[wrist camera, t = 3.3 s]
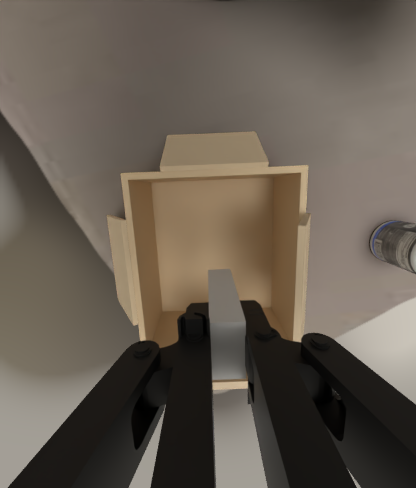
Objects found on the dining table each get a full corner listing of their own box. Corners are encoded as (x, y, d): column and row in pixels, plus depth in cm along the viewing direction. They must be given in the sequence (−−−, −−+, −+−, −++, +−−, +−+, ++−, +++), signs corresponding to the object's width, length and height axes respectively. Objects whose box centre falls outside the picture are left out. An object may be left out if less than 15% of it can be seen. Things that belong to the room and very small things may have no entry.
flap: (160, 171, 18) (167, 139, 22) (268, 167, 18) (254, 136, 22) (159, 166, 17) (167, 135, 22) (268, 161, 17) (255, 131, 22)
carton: (145, 178, 26) (119, 173, 18) (277, 172, 26) (308, 165, 18) (158, 313, 29) (141, 358, 21) (274, 308, 29) (298, 352, 21)
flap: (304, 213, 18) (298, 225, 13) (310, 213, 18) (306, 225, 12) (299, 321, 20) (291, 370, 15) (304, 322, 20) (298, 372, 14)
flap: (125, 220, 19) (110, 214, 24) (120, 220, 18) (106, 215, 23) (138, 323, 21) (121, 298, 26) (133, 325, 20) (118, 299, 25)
